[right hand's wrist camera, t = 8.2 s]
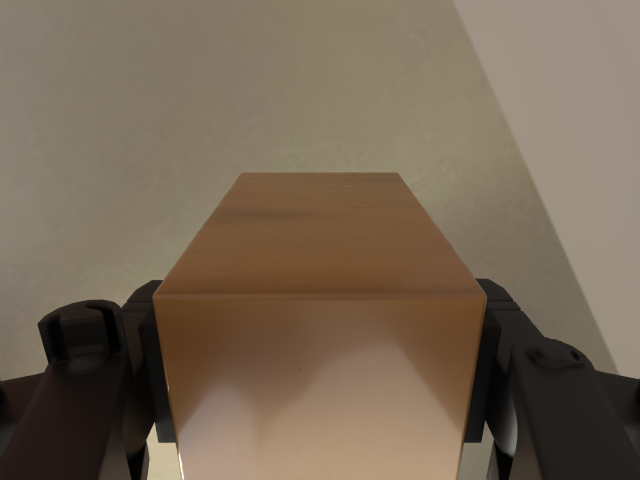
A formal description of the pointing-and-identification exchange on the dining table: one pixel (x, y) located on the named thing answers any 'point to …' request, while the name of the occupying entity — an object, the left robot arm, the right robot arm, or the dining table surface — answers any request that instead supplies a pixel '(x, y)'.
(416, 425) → the block
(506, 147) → the dining table surface
